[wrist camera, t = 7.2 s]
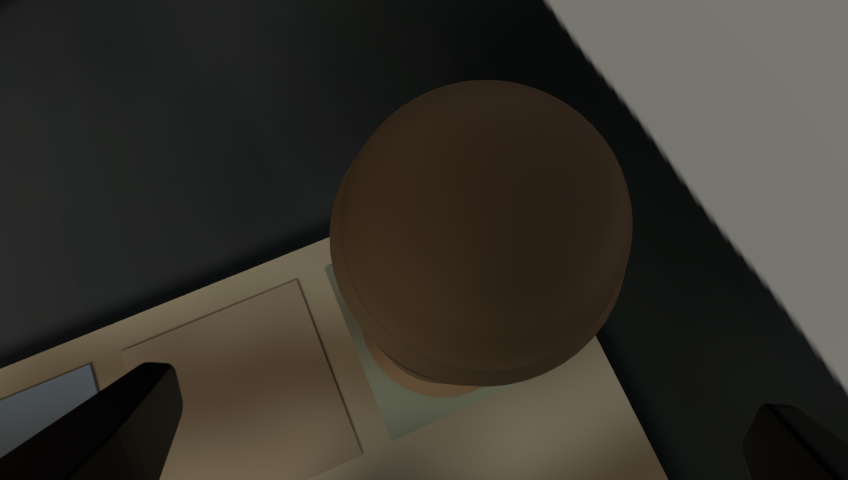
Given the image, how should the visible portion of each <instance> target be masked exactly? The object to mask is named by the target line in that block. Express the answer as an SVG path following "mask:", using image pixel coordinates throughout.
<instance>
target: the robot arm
mask: <svg viewBox="0 0 848 480" xmlns="http://www.w3.org/2000/svg"><path fill="white" fill-rule="evenodd" d="M182 411H183V399H182V395H181V390H180V386H179V382H178V378H177V374H176V370H175V368H174V366H173V365H172V364H169V363H158V362H145V363H142V364H140V365H138V366H137V367H135V368H134V369H132V370H131V371H129V372H128V373H126V374H125V375H123V376H122V377H120V378H119V379H117V380H116V381H114V382H113V383H111V384H110V385H108V386H107V387H106V388H104V389H103V390H101V391H100V392H98V393H97V394H95V395H94V396H92V397H91V398H89V399H88V400H86V401H85V402H83V403H82V404H80V405H79V406H77V407H76V408H74V409H73V410H71V411H70V412H68V413H67V414H65V415H64V416H62V417H61V418H59V419H58V420H56V421H55V422H53V423H52V424H50V425H49V426H47V427H46V428H44V429H43V430H41V431H40V432H38V433H37V434H35V435H34V436H32V437H31V438H29V439H28V440H26V441H25V442H23V443H22V444H20V445H19V446H17V447H16V448H14V449H13V450H11V451H10V452H8V453H7V454H5V455H4V456H3V457H1V458H0V480H160V477H161V474H162V471H163V468H164V465H165V462H166V460H167V457H168V454H169V451H170V448H171V445H172V442H173V439H174V436H175V434H176V431H177V428H178V425H179V422H180V419H181V416H182ZM741 448H742V454H743V458H744V461H745V464H746V467H747V470H748V473H749V476H750V479H751V480H848V444H847V443H846V442H844V441H843V440H842V439H840V438H839V437H837V436H836V435H835V434H833V433H832V432H830V431H829V430H827V429H826V428H825V427H823V426H822V425H820V424H819V423H818V422H816V421H815V420H813V419H812V418H811V417H809V416H808V415H806V414H805V413H803V412H802V411H801V410H799V409H798V408H796V407H794V406H791V405H784V404H769V403H768V404H764V405H762V406H761V407H760V408H759V409H758V410H757V412H756V414H755V416H754V418H753V420H752V421H751V423H750V425H749V427H748V429H747V430H746V432H745V434H744V436H743V438H742V445H741Z"/></svg>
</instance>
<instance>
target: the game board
mask: <svg viewBox="0 0 848 480" xmlns="http://www.w3.org/2000/svg"><path fill="white" fill-rule="evenodd" d="M145 362H158V363H169V364H172V365H173V366H174V368H175V370H176V374H177V378H178V382H179V386H180V390H181V395H182V399H183V411H182V416H181V419H180V422H179V425H178V428H177V431H176V434H175V436H174V439H173V442H172V445H171V448H170V451H169V454H168V457H167V460H166V462H165V465H164V468H163V471H162V474H161V477H160V480H668V478H667V476H666V474H665V472H664V470H663V468H662V466H661V464H660V462H659V460H658V458H657V456H656V454H655V452H654V450H653V448H652V446H651V444H650V442H649V441H648V439H647V437H646V435H645V433H644V431H643V429H642V427H641V425H640V423H639V421H638V419H637V417H636V415H635V413H634V411H633V409H632V407H631V405H630V403H629V401H628V399H627V397H626V395H625V393H624V391H623V389H622V387H621V385H620V383H619V381H618V379H617V377H616V375H615V373H614V371H613V369H612V367H611V365H610V363H609V361H608V359H607V357H606V355H605V353H604V351H603V349H602V347H601V345H600V343H599V341H598V339H597V337H596V335H595V336H594V338H593V339H592V340H591V341H590V342H589V343H588V344H587V345H586V346H585V347H584V348H583V349H582V350H581V351H580V352H578V353H577V354H576V355H574V356H573V357H572V358H570V359H569V360H568V361H566V362H565V363H564V364H562V365H560V366H558V367H556V368H555V369H553V370H551V371H549V372H547V373H545V374H543V375H540V376H537V377H535V378H532V379H529V380H527V381H522V382H518V383H514V384H509V385H502V386H490V387H481V388H479V389H477V390H475V391H472V392H470V393H467V394H463V395H459V396H453V397H432V396H427V395H422V394H419V393H416V392H413V391H411V390H409V389H407V388H405V387H403V386H401V385H399V384H398V383H396V382H395V381H393V380H392V379H391V378H390V377H389V376H388V375H386V374H385V373H384V372H383V371H382V369H381V368H380V367H379V366H378V365H377V363H376V362H375V360H374V359H373V357H372V356H371V354H370V352H369V350H368V348H367V345H366V343H365V340H364V336H363V332H362V328H361V327H360V326H359V324H358V323H357V321H356V320H355V318H354V317H353V315H352V314H351V312H350V311H349V309H348V307H347V305H346V303H345V301H344V299H343V297H342V295H341V293H340V290H339V287H338V284H337V281H336V278H335V275H334V272H333V266H332V260H331V255H330V237H328V238H326V239H323V240H321V241H318V242H316V243H313V244H311V245H308V246H306V247H303V248H301V249H298V250H296V251H293V252H291V253H288V254H286V255H283V256H281V257H278V258H276V259H274V260H271V261H269V262H266V263H264V264H261V265H259V266H256V267H254V268H251V269H249V270H246V271H244V272H241V273H239V274H236V275H234V276H231V277H229V278H226V279H224V280H221V281H219V282H216V283H214V284H211V285H209V286H206V287H204V288H201V289H199V290H196V291H194V292H191V293H189V294H186V295H184V296H181V297H179V298H176V299H174V300H171V301H169V302H166V303H164V304H161V305H159V306H156V307H154V308H151V309H149V310H146V311H144V312H141V313H139V314H136V315H134V316H131V317H129V318H126V319H124V320H121V321H119V322H116V323H114V324H111V325H109V326H106V327H104V328H101V329H99V330H96V331H94V332H91V333H89V334H86V335H84V336H81V337H79V338H76V339H74V340H71V341H69V342H66V343H64V344H61V345H59V346H56V347H54V348H51V349H49V350H46V351H44V352H41V353H39V354H36V355H34V356H31V357H29V358H26V359H24V360H21V361H19V362H16V363H14V364H11V365H9V366H6V367H4V368H1V369H0V458H1V457H3V456H4V455H5V454H7V453H8V452H10V451H11V450H13V449H14V448H16V447H17V446H19V445H20V444H22V443H23V442H25V441H26V440H28V439H29V438H31V437H32V436H34V435H35V434H37V433H38V432H40V431H41V430H43V429H44V428H46V427H47V426H49V425H50V424H52V423H53V422H55V421H56V420H58V419H59V418H61V417H62V416H64V415H65V414H67V413H68V412H70V411H71V410H73V409H74V408H76V407H77V406H79V405H80V404H82V403H83V402H85V401H86V400H88V399H89V398H91V397H92V396H94V395H95V394H97V393H98V392H100V391H101V390H103V389H104V388H106V387H107V386H108V385H110V384H111V383H113V382H114V381H116V380H117V379H119V378H120V377H122V376H123V375H125V374H126V373H128V372H129V371H131V370H132V369H134V368H135V367H137V366H138V365H140V364H142V363H145Z"/></svg>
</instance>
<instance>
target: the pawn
mask: <svg viewBox="0 0 848 480" xmlns="http://www.w3.org/2000/svg"><path fill="white" fill-rule="evenodd" d="M632 229H633V223H632V208H631V202H630V197H629V192H628V188H627V185H626V182H625V179H624V176H623V173H622V170H621V168H620V165H619V163H618V161H617V159H616V157H615V155H614V153H613V152H612V150H611V149H610V147H609V145H608V144H607V142H606V141H605V139H604V138H603V137H602V136H601V135H600V133H599V132H598V131H597V130H596V129H595V127H594V126H593V125H592V124H591V123H590V122H589V121H587V120H586V119H585V118H584V117H583V116H582V115H581V114H580V113H578V112H577V111H576V110H574V109H573V108H572V107H570V106H569V105H568V104H566V103H564V102H563V101H561V100H559V99H557V98H556V97H554V96H552V95H550V94H547V93H545V92H543V91H540V90H538V89H535V88H532V87H529V86H525V85H522V84H518V83H512V82H507V81H497V80H475V81H465V82H460V83H454V84H450V85H447V86H443V87H440V88H437V89H434V90H432V91H430V92H428V93H425V94H423V95H421V96H419V97H417V98H415V99H413V100H412V101H410V102H409V103H407V104H405V105H404V106H402V107H400V108H399V109H398V110H397V111H395V112H394V113H393V114H392V115H390V116H389V117H388V118H387V119H386V120H385V121H384V122H383V123H382V124H381V125H380V126H379V127H378V128H377V129H376V130H375V132H374V133H373V134H372V136H371V137H370V138H369V140H368V141H367V142H366V144H365V145H364V146H363V148H362V149H361V151H360V152H359V154H358V155H357V156H356V158H355V159H354V160H353V162H352V163H351V165H350V167H349V168H348V170H347V172H346V174H345V176H344V177H343V179H342V182H341V184H340V187H339V189H338V192H337V195H336V197H335V201H334V206H333V210H332V214H331V223H330V233H329V236H330V255H331V260H332V266H333V272H334V275H335V278H336V281H337V284H338V287H339V290H340V293H341V295H342V297H343V299H344V301H345V303H346V305H347V307H348V309H349V311H350V312H351V314H352V315H353V317H354V318H355V320H356V321H357V323H358V324H359V326H360V327H361V328H362V332H363V336H364V340H365V343H366V345H367V348H368V350H369V352H370V354H371V356H372V357H373V359H374V360H375V362H376V363H377V365H378V366H379V367H380V368H381V369H382V371H383V372H384V373H385V374H386V375H388V376H389V377H390V378H391V379H392V380H393V381H395V382H396V383H398V384H399V385H401V386H403V387H405V388H407V389H409V390H411V391H413V392H416V393H419V394H422V395H427V396H432V397H453V396H459V395H463V394H467V393H470V392H472V391H475V390H477V389H479V388H481V387H490V386H502V385H509V384H514V383H518V382H522V381H527V380H529V379H532V378H535V377H537V376H540V375H543V374H545V373H547V372H549V371H551V370H553V369H555V368H556V367H558V366H560V365H562V364H564V363H565V362H566V361H568V360H569V359H570V358H572V357H573V356H574V355H576V354H577V353H578V352H580V351H581V350H582V349H583V348H584V347H585V346H586V345H587V344H588V343H589V342H590V341H591V340H592V339H593V338H594V336H595V335H596V334H597V332H598V331H599V330H600V328H601V327H602V326H603V324H604V323H605V322H606V320H607V318H608V316H609V314H610V313H611V311H612V309H613V307H614V305H615V303H616V300H617V298H618V295H619V292H620V290H621V287H622V283H623V278H624V274H625V270H626V266H627V262H628V257H629V253H630V248H631V241H632Z"/></svg>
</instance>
